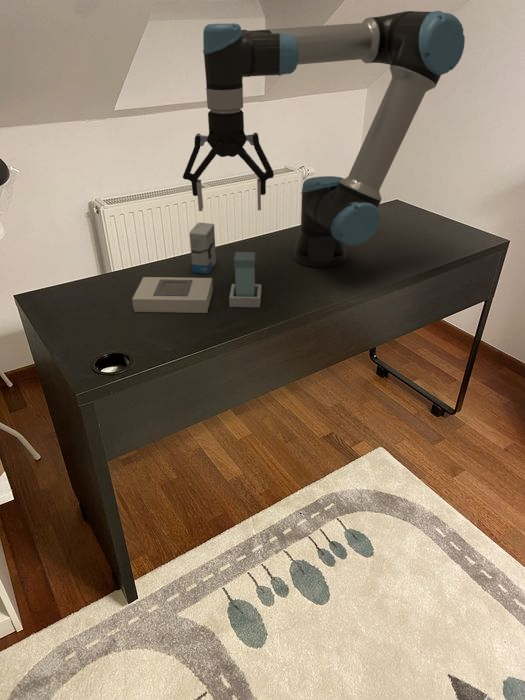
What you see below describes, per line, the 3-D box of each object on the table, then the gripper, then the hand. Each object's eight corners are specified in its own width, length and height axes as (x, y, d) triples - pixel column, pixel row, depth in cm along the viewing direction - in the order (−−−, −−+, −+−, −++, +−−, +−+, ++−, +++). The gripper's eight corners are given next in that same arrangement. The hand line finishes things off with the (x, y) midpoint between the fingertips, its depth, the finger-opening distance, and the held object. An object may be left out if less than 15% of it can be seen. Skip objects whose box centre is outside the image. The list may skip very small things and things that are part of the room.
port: (212, 290, 138) (212, 277, 136) (207, 312, 128) (206, 299, 126) (145, 289, 138) (143, 276, 136) (134, 311, 128) (131, 297, 126)
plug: (255, 295, 135) (255, 252, 129) (254, 304, 131) (254, 260, 125) (237, 295, 135) (235, 251, 129) (235, 304, 131) (234, 260, 125)
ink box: (208, 274, 146) (206, 234, 139) (191, 273, 147) (188, 232, 140) (217, 262, 153) (214, 223, 146) (200, 260, 153) (198, 221, 147)
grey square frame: (261, 293, 136) (261, 284, 135) (260, 307, 130) (260, 298, 129) (232, 292, 137) (231, 283, 135) (229, 306, 130) (229, 297, 129)
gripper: (284, 106, 113) (282, 202, 125) (168, 107, 113) (178, 204, 125) (285, 112, 107) (284, 213, 119) (163, 114, 107) (174, 215, 119)
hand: (230, 209), depth 122 cm, fingers open, 13 cm apart
